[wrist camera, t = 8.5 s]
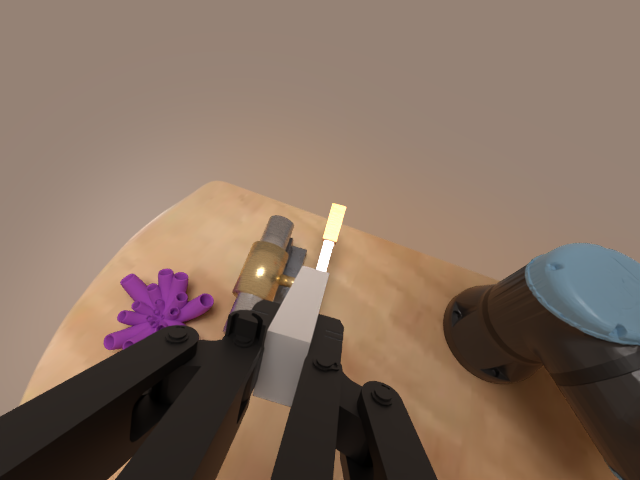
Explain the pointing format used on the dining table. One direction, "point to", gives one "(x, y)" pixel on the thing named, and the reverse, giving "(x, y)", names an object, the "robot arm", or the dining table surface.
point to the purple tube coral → (156, 307)
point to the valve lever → (330, 235)
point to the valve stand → (269, 267)
